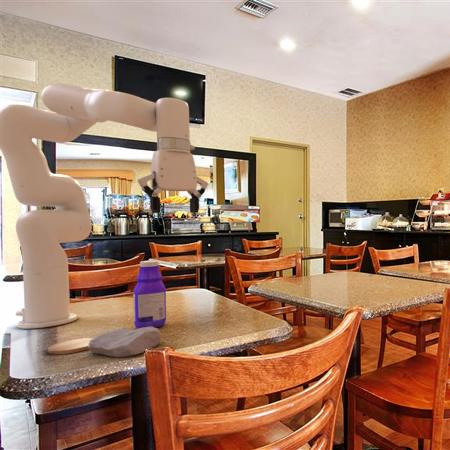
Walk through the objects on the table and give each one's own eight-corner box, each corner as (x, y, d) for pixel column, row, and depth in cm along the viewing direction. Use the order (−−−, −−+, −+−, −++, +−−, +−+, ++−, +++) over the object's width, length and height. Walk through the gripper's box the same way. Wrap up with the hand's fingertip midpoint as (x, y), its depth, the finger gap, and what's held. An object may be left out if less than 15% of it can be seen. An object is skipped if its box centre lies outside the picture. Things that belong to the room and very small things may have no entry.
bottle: (163, 322, 112) (161, 259, 112) (169, 326, 108) (167, 260, 108) (132, 327, 107) (129, 261, 107) (137, 332, 103) (134, 263, 103)
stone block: (134, 365, 84) (166, 341, 94) (129, 344, 83) (161, 321, 92) (82, 366, 85) (118, 342, 95) (76, 345, 84) (113, 323, 94)
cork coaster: (36, 353, 87) (36, 350, 87) (75, 340, 96) (75, 337, 96) (73, 354, 86) (73, 351, 86) (109, 341, 95) (109, 338, 95)
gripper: (198, 152, 116) (200, 213, 116) (130, 144, 102) (133, 213, 102) (213, 149, 111) (215, 212, 112) (144, 141, 97) (146, 212, 98)
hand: (175, 212), depth 107 cm, fingers open, 9 cm apart
